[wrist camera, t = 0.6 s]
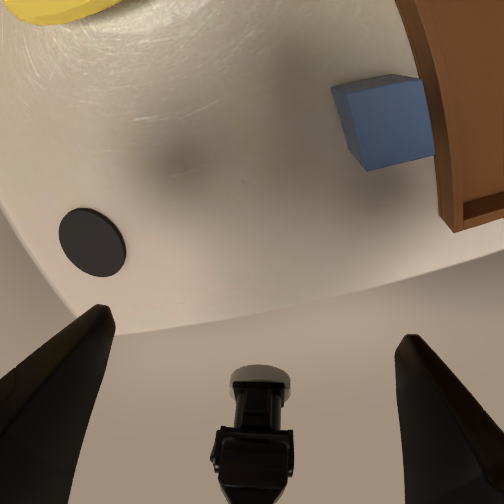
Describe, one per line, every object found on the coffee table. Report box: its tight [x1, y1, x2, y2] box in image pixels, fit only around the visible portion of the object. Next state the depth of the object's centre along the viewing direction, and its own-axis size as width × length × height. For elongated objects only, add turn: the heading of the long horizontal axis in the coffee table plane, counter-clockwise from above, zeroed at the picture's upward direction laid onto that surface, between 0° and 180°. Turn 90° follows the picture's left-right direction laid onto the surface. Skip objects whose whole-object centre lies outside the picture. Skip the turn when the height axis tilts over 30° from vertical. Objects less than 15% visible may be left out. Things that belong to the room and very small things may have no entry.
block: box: [331, 74, 435, 172], centre depth 14 cm, size 4×4×4 cm
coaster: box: [59, 209, 126, 277], centre depth 22 cm, size 6×6×1 cm
